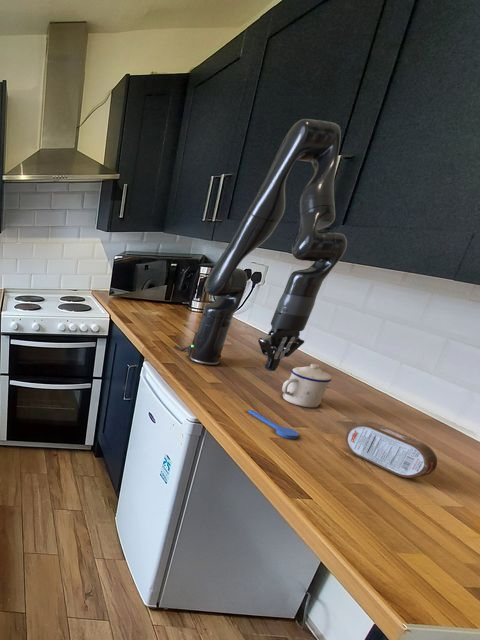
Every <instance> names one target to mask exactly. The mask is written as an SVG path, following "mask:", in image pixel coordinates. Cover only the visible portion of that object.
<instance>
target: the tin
mask: <svg viewBox="0 0 480 640" xmlns="http://www.w3.org/2000/svg"><path fill="white" fill-rule="evenodd" d="M345 443H346V446H347V447H348V449H349V450H350V452H352V453H353V454H354V455H356V456H357V457H359V458H361V459H363V460H365V461H367V462H369V463H371V464H373V465H374V466H377V467H379V468H381V469H383V470H385V471H387V472H389V473H391V474H393V475H395V476H398V477H400V478H406V479H415V478H416V479H417V478H420V477H426V476H429V475H430V474H432V473H433V472H434V471H435V470H436V468H437V466H438V457H437V455H436V452H435V451H434V450H433V449H432V448H431V447H430V446H429V445H428V444H427V443H425V442H423V441H421V440H419V439H416V438H415V437H412V436H410V435H407V434H405V433H402V432H401V431H398V430H395V429H393V428H391V427H389V426H386V425H384V424H382V423H378V422H375V421H363V422H360V423H358V424H354V425H353V426H352V425H351V426H350V428H348V430H347V431H346V433H345Z"/></svg>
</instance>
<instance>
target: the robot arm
mask: <svg viewBox="0 0 480 640" xmlns="http://www.w3.org/2000/svg"><path fill="white" fill-rule="evenodd" d="M341 133H342V132H341V127H340V125H339V124H338V123H336V122H332V121H328V120H320V119H311V118H302V119H300V120H298V121H296V122H295V123H294V124H293V125H292V126H291V127H290V128H289V130H288V132H287V133H286V135H285V137H284V138H283V139H282V142H281V144H280V146H279V148H278V151H277V153H276V155H275V157H274V159H273V161H272V163H271V166H270V168H269V170H268V172H267V175H266V176H265V179H264V181H263V182H262V184H261V186H260V188H259V190H258V192H257V193H256V195H255V197H254V198H253V200H252V202H251V204H250V205H249V207H248V209H247V210H246V213H244V216H243V218H242V219H241V221H240V223H239V225H238V227H237V229H236V230H235V233H234V234H233V236H232V238H231V239H230V241H229V243H228V244H227V246H226V247H225V250H224V251H223V252H222V254H221V256H220V257H219V259H218V260H217V261H216V262H215V264H214V266H213V267H212V269H211V270H210V272H209V273H208V275H207V277H206V280H205V284H204V290H205V293H206V294H207V295H209V296H212V297H216V299H215V300H214V301H212V302H210V303H207V304H206V305H205V306H204V307H203V311H202V314H201V317H200V321H199V325H198V328H197V331H196V332H195V333H194V335H193V340H192V343H191V345H188V346H185V347H184V348H180V347H179V346H177V344H176V345H174V346H173V347H174V348H176V349H177V350H179V351H182V352H183V351H185V350H186V352H187V353H188V358H189V360H190V361H192V362H193V363H196V364H200V365H204V366H217V365H219V363H220V360H221V357H222V352H223V349H224V346H225V342H226V339H227V337H228V334H229V329H230V326H231V323H232V320H233V318H234V315H235V313H236V312H237V311H238V310H239V307H240V304H241V302H242V299H243V297H244V295H245V292H246V288H247V284H248V275H247V272H246V271H245V270H244V269H242V268H238V267H239V265H240V264H241V262H242V261H243V260H244V259H245V258H246V257H247V256H249V255H250V253H252V252H253V251H255V249H257V248H258V247H259V246H261V245H262V244H263V243H264V242H265V241H266V240H268V239H269V238H270V236H271V235H272V234H273V232H274V231H275V230H276V228H277V226H278V225H279V223H280V222H281V220H282V218H283V217H284V214H285V211H286V184H287V179H288V176H289V174H290V172H291V170H292V168H293V166H294V164H295V162H296V161H300V162H301V161H302V162H308V163H309V162H310V163H311V166H312V170H313V172H312V176H311V178H310V179H309V181H308V182H307V184H306V185H305V186H304V188H303V190H302V191H301V193H300V195H299V197H298V202H297V203H298V204H297V206H298V207H297V209H298V225H297V228H296V233H295V237H294V239H293V242H292V244H291V253H292V256H293V257H294V258H295V259H296V260H297V261H300V262H301V261H302V262H313V264H311V265H310V266H309V267H308V268H303V269H298V270H293V271H292V272H291V274H290V275H289V277H288V280H287V283H286V285H285V288H284V290H283V293H282V295H281V296H280V299H279V301H278V303H277V304H276V305H277V306H276V308H275V311H274V313H273V316H272V318H271V321H270V325H271V328H270V330H269V331H268V333H267V335H266V336H265V337H259V338H258V339H257V341H258V345H259V348H260V350H261V353H262V355H264V356H266V357H267V359H266V362H265V364H264V368H265V370H266V371H268V372H275V371H276V370H277V369H278V367H279V365H280V362H281V360H283V358H288V357H290V356H291V355H292V354H293V353H294V352H295V351H297V350H298V349H299V348H300V347H301V346H302V345H304V343H305V340H304V339H302V338H300V335H301V332H302V331H304V330H305V328H306V326H307V324H308V321H309V319H310V316H311V314H312V311H313V309H314V307H315V304H316V300H317V296H318V294H319V292H320V290H321V286H322V284H323V282H324V281H325V279H326V278H327V277H328V275H330V273H331V271H332V270H333V268H334V267H335V266H336V265H337V263H338V262H339V261H340V260H341V259H342V257H343V256H344V254H345V252H346V250H347V248H348V247H347V246H348V240H347V237H346V235H345V234H344V233H341V232H332V231H330V232H329V231H320V230H323V229H325V228H327V227H329V226H331V225H332V224H333V223H334V222H335V219H336V205H335V204H336V203H335V178H336V172H337V166H338V161H339V153H340V145H341V139H342V138H341V135H342V134H341Z"/></svg>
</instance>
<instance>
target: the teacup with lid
mask: <svg viewBox="0 0 480 640" xmlns="http://www.w3.org/2000/svg"><path fill="white" fill-rule="evenodd" d="M320 367H321V366H320V365H319V364H318V363H310V365H307V366H296V367H294V368H292V370H291V374H290V377H289V379H287V380H285V381H284V383H283V384H282V387H281V389H282V392H283V393H282V398H283V399H284V400H285V401H286V402H288V403H291V404H292V405H296V406H299V407H304V408H318V407H319V406H320V404H321V402H322V399H323V397H324V395H325V393H326V391H327V388H328V387H329V383H330V382H332V376H331V374H329V373H327V372H325V371H324V369H323V370H322V368H320Z"/></svg>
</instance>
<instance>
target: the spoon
mask: <svg viewBox="0 0 480 640" xmlns="http://www.w3.org/2000/svg"><path fill="white" fill-rule="evenodd" d="M247 413H248V414H249V415H251V416H253V417H254V418H256V419H258V420H259V421H261V422H262V423H264V424H266V425H267V426H269V427H271V428H273V429H274V430H275V433H276V434H277V435H278V436H279V437H282V438H284V439H288V440H297V439H298V437H299V432H298V431H296V430H294V429H292V428H290V427H286V426H280V425H278V424H277V423H276V422H274V421H272V420H270V419H268V418H267V417H265V416H263V415H262V414H261V413H258V412H257V411H255V410H253V409H248V411H247Z"/></svg>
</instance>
